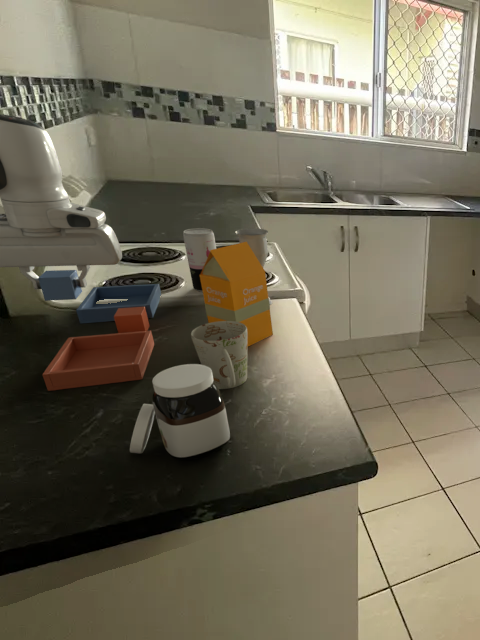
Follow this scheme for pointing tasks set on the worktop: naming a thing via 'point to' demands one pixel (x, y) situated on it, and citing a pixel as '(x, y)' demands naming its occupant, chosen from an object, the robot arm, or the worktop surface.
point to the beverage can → (198, 251)
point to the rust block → (131, 319)
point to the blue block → (59, 285)
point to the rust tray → (100, 360)
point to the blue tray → (105, 312)
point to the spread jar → (184, 413)
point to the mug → (223, 351)
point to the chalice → (255, 243)
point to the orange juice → (237, 290)
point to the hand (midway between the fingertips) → (61, 287)
